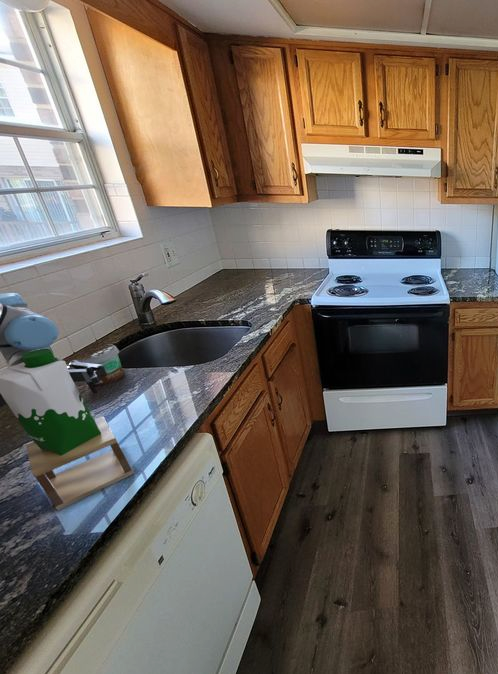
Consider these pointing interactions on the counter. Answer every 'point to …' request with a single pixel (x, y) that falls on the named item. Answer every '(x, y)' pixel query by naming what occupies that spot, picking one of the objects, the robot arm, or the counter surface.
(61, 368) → the soya milk
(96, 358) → the food container
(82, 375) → the robot arm
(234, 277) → the counter surface
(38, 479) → the rack
